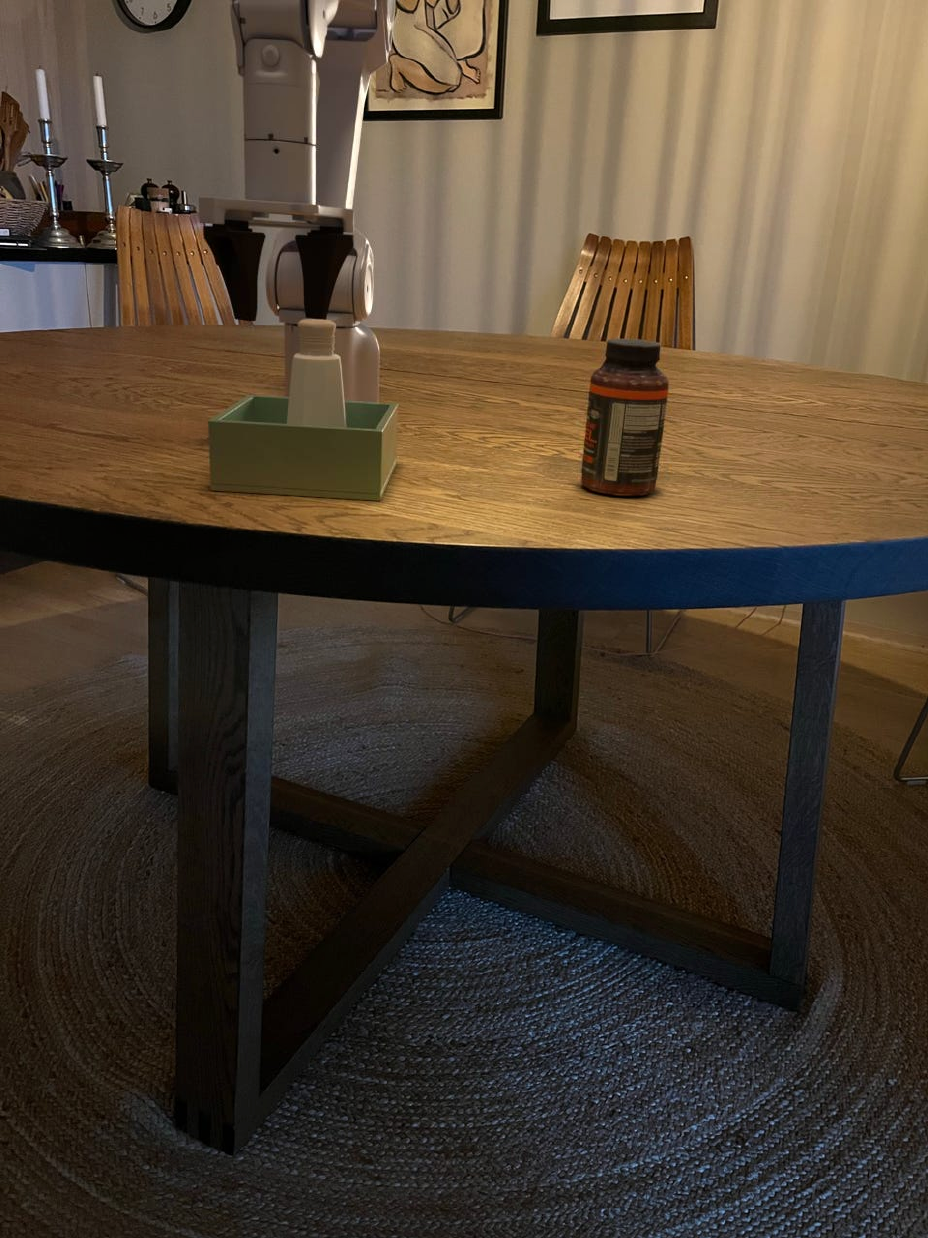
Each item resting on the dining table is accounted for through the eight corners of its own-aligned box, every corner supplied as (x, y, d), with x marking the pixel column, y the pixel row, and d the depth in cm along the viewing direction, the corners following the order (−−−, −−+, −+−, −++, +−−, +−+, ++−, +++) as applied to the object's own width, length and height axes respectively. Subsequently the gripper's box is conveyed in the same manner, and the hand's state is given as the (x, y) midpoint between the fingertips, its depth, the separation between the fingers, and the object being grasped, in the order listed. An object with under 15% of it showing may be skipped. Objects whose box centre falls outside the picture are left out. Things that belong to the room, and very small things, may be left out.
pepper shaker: (363, 464, 79) (365, 321, 75) (333, 478, 74) (334, 325, 70) (301, 456, 81) (301, 315, 77) (268, 469, 76) (266, 319, 72)
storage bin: (249, 455, 83) (248, 394, 81) (396, 464, 82) (398, 403, 81) (210, 490, 71) (207, 420, 69) (380, 501, 71) (382, 430, 69)
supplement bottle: (573, 478, 81) (586, 334, 77) (644, 481, 82) (662, 338, 78) (587, 497, 76) (603, 343, 71) (664, 499, 76) (684, 347, 72)
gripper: (235, 132, 73) (240, 325, 78) (379, 152, 83) (375, 322, 88) (180, 134, 77) (188, 317, 82) (324, 153, 87) (323, 315, 92)
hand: (281, 319), depth 85 cm, fingers open, 7 cm apart
